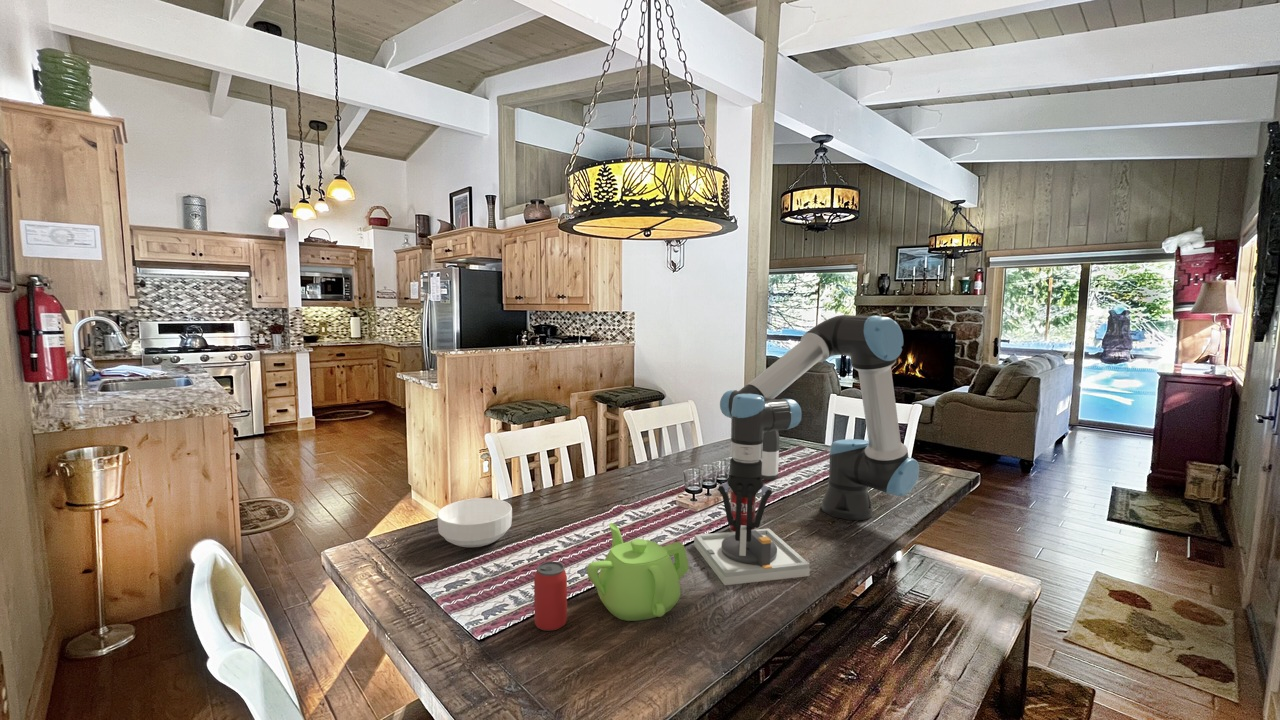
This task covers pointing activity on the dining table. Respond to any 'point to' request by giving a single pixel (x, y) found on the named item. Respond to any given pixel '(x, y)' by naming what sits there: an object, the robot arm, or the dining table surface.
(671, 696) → the dining table surface
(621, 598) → the teapot
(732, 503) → the soda can
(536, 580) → the beer can
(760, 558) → the dial
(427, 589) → the dining table surface
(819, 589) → the dining table surface
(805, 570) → the panel
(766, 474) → the wine bottle
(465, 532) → the bowl
